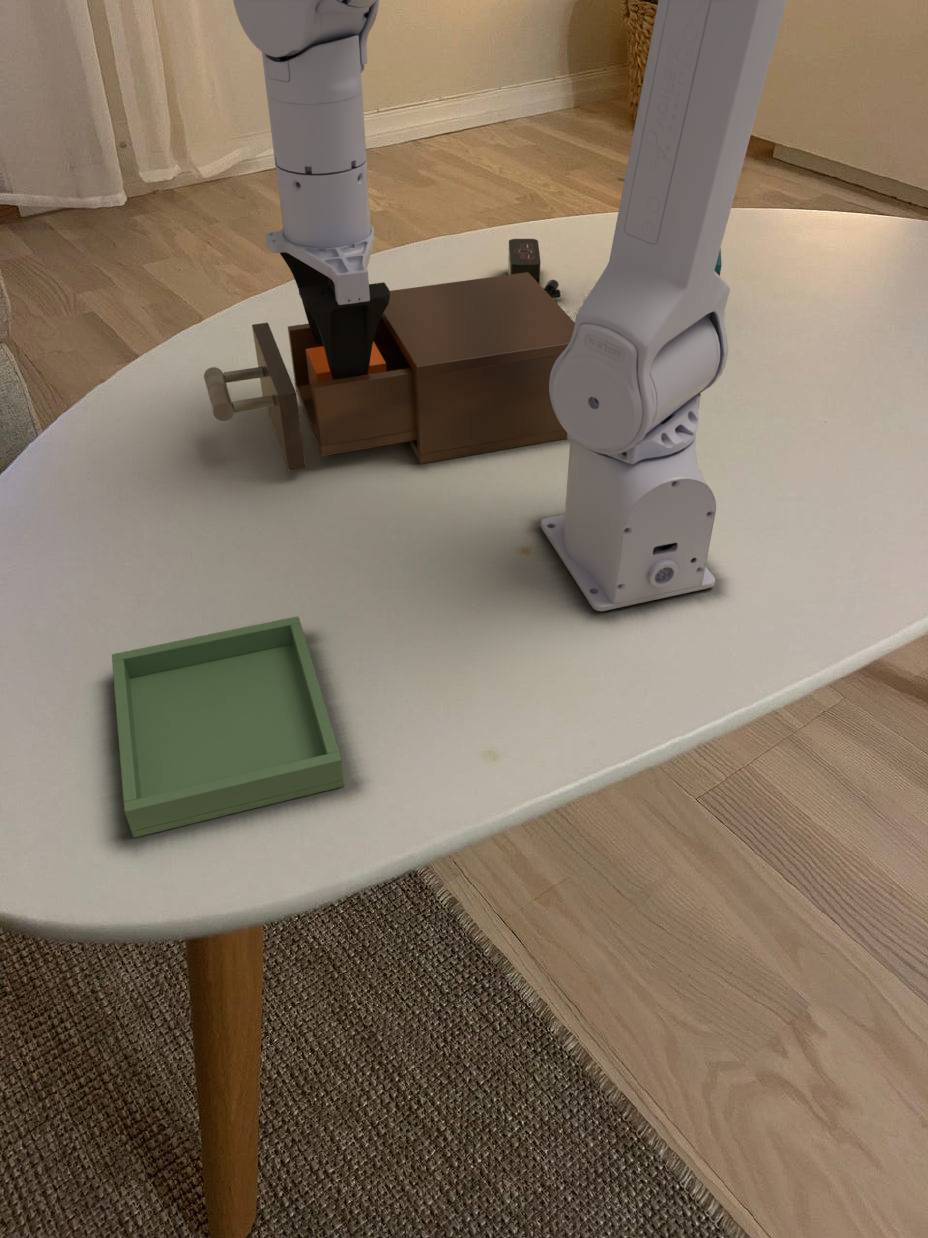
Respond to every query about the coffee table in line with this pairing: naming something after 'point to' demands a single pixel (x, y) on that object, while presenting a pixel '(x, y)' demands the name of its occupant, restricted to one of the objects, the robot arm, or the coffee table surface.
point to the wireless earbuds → (528, 262)
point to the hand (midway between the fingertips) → (339, 360)
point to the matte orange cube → (320, 368)
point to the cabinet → (480, 363)
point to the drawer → (323, 397)
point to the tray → (221, 726)
